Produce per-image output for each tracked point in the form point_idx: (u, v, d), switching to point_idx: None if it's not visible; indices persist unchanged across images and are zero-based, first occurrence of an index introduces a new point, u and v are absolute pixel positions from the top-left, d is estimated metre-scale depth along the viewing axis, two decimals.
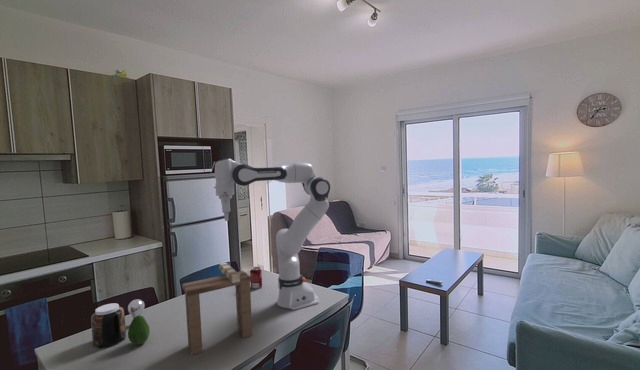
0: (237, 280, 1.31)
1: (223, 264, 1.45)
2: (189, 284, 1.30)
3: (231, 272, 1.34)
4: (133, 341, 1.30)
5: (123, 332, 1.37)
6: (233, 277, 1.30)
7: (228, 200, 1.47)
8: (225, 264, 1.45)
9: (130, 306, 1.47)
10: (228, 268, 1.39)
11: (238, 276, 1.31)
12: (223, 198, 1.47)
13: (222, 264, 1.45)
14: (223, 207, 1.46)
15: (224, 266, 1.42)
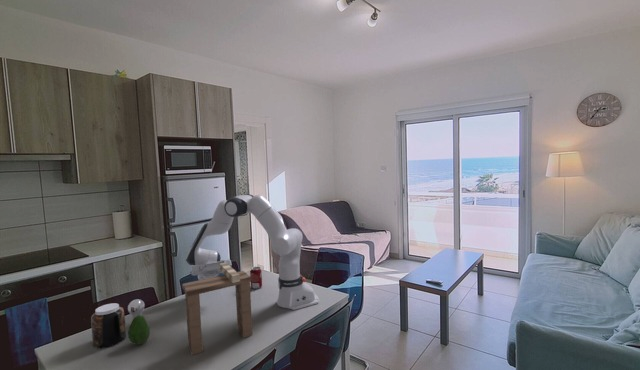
0: (237, 280, 1.31)
1: (223, 264, 1.45)
2: (189, 284, 1.30)
3: (231, 272, 1.34)
4: (133, 341, 1.30)
5: (123, 332, 1.37)
6: (233, 277, 1.30)
7: None
8: (225, 264, 1.45)
9: (130, 306, 1.47)
10: (228, 268, 1.39)
11: (238, 276, 1.31)
12: None
13: (222, 264, 1.45)
14: (192, 273, 1.61)
15: (224, 266, 1.42)
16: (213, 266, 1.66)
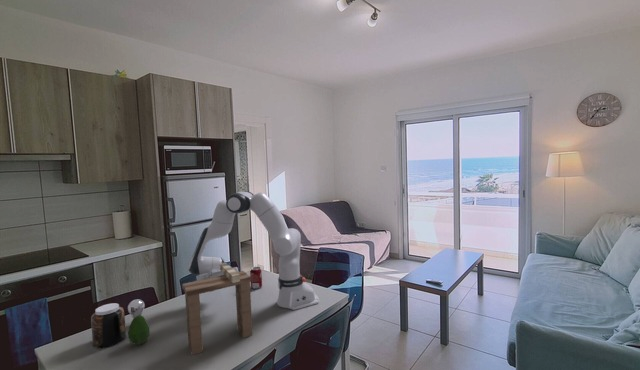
0: (237, 280, 1.31)
1: (223, 264, 1.45)
2: (189, 284, 1.30)
3: (231, 272, 1.34)
4: (133, 341, 1.30)
5: (123, 332, 1.37)
6: (233, 277, 1.30)
7: None
8: (225, 264, 1.45)
9: (130, 306, 1.47)
10: (228, 268, 1.39)
11: (238, 276, 1.31)
12: None
13: (222, 264, 1.45)
14: None
15: (224, 266, 1.42)
16: (219, 274, 1.56)
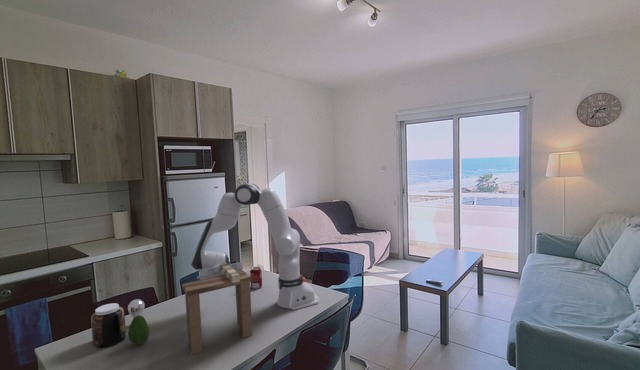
0: (237, 280, 1.31)
1: (223, 264, 1.45)
2: (189, 284, 1.30)
3: (231, 272, 1.34)
4: (133, 341, 1.30)
5: (123, 332, 1.37)
6: (233, 277, 1.30)
7: None
8: (225, 264, 1.45)
9: (130, 306, 1.47)
10: (228, 268, 1.39)
11: (238, 276, 1.31)
12: None
13: (222, 264, 1.45)
14: (199, 277, 1.45)
15: (224, 266, 1.42)
16: None
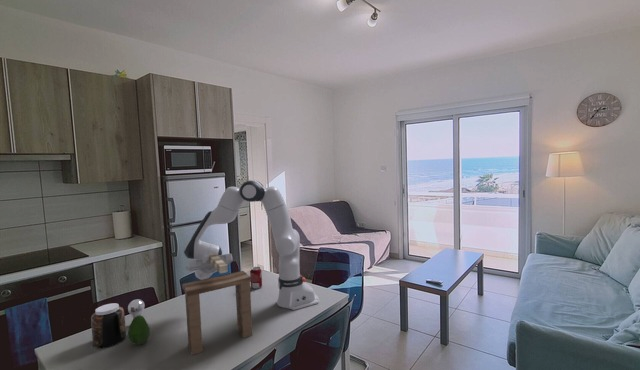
0: (225, 271, 1.28)
1: (212, 255, 1.42)
2: (189, 284, 1.30)
3: (219, 263, 1.31)
4: (133, 341, 1.30)
5: (123, 332, 1.37)
6: (221, 267, 1.27)
7: None
8: (214, 255, 1.42)
9: (130, 306, 1.47)
10: (216, 259, 1.37)
11: (226, 267, 1.28)
12: None
13: (211, 255, 1.42)
14: (188, 268, 1.42)
15: (213, 257, 1.39)
16: None
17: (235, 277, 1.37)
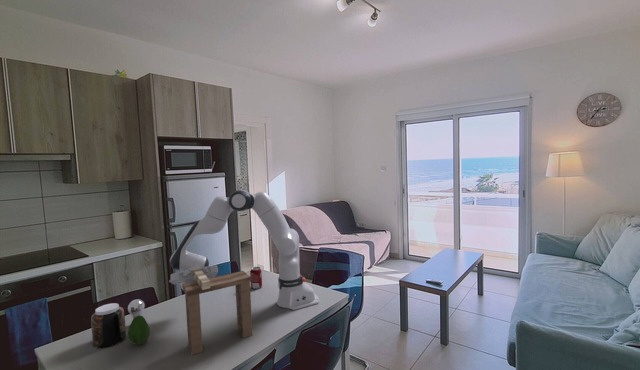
0: (207, 287, 1.25)
1: (196, 269, 1.39)
2: (189, 284, 1.30)
3: (202, 278, 1.28)
4: (133, 341, 1.30)
5: (123, 332, 1.37)
6: (203, 284, 1.24)
7: None
8: (198, 269, 1.39)
9: (130, 306, 1.47)
10: (200, 274, 1.33)
11: (208, 283, 1.25)
12: None
13: (195, 269, 1.39)
14: (171, 281, 1.38)
15: (196, 272, 1.36)
16: None
17: (235, 277, 1.37)
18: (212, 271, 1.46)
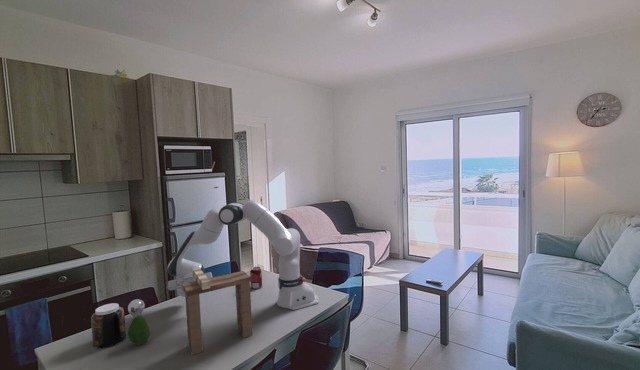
0: (207, 287, 1.25)
1: (196, 269, 1.39)
2: (189, 284, 1.30)
3: (202, 278, 1.28)
4: (133, 341, 1.30)
5: (123, 332, 1.37)
6: (203, 284, 1.24)
7: None
8: (198, 269, 1.39)
9: (130, 306, 1.47)
10: (200, 274, 1.33)
11: (208, 283, 1.25)
12: None
13: (195, 269, 1.39)
14: (168, 288, 1.49)
15: (196, 272, 1.36)
16: (192, 280, 1.54)
17: (235, 277, 1.37)
18: None
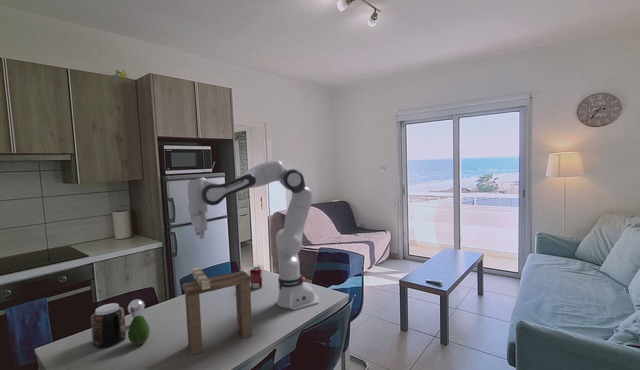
0: (207, 287, 1.25)
1: (196, 269, 1.39)
2: (189, 284, 1.30)
3: (202, 278, 1.28)
4: (133, 341, 1.30)
5: (123, 332, 1.37)
6: (203, 284, 1.24)
7: (205, 218, 1.51)
8: (198, 269, 1.39)
9: (130, 306, 1.47)
10: (200, 274, 1.33)
11: (208, 283, 1.25)
12: (200, 217, 1.50)
13: (195, 269, 1.39)
14: (200, 226, 1.49)
15: (196, 272, 1.36)
16: None
17: (235, 277, 1.37)
18: None
